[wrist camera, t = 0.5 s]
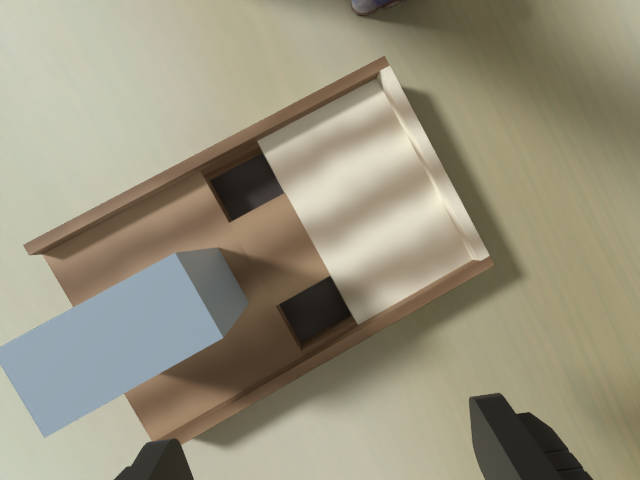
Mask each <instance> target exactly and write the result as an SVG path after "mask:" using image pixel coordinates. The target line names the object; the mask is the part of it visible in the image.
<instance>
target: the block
mask: <svg viewBox="0 0 640 480" xmlns="http://www.w3.org/2000/svg"><path fill="white" fill-rule="evenodd" d="M248 304H249V301H248V300H247V298H246V296H245V294H244V293H243V291H242V289H241V287H240V285H239V284H238V282H237V280H236V278H235V277H234V275H233V273H232V271H231V269H230V268H229V266H228V264H227V262H226V261H225V259H224V257H223V255H222V253H221V252H220V250H219V248H218V247H216V248H208V249H200V250H192V251H184V252H176V253H173V254H172V255H170V256H168V257H166V258H164V259H162V260H160V261H159V262H157V263H155V264H153V265H151V266H149V267H147V268H146V269H144V270H142V271H140V272H138V273H136V274H134V275H133V276H131V277H129V278H127V279H125V280H123V281H122V282H120V283H118V284H116V285H114V286H112V287H110V288H109V289H107V290H105V291H103V292H101V293H99V294H97V295H96V296H94V297H92V298H90V299H88V300H86V301H84V302H83V303H81V304H79V305H77V306H75V307H73V308H71V309H70V310H68V311H66V312H64V313H62V314H60V315H58V316H57V317H55V318H53V319H51V320H49V321H47V322H45V323H44V324H42V325H40V326H38V327H36V328H34V329H32V330H31V331H29V332H27V333H25V334H23V335H21V336H19V337H18V338H16V339H14V340H12V341H10V342H8V343H7V344H5V345H3V346H1V347H0V365H1V366H2V368H3V370H4V371H5V373H6V375H7V376H8V378H9V380H10V381H11V383H12V385H13V386H14V388H15V390H16V391H17V393H18V395H19V396H20V398H21V400H22V401H23V403H24V405H25V406H26V408H27V410H28V411H29V413H30V415H31V416H32V418H33V420H34V421H35V423H36V425H37V426H38V428H39V430H40V431H41V433H42V435H43V436H44V438H45V437H47V436H49V435H51V434H52V433H54V432H56V431H58V430H60V429H61V428H63V427H65V426H67V425H68V424H70V423H72V422H74V421H76V420H77V419H79V418H81V417H83V416H85V415H86V414H88V413H90V412H92V411H93V410H95V409H97V408H99V407H101V406H102V405H104V404H106V403H108V402H110V401H111V400H113V399H115V398H117V397H119V396H120V395H122V394H124V393H126V392H127V391H129V390H131V389H133V388H135V387H136V386H138V385H140V384H142V383H144V382H145V381H147V380H149V379H151V378H152V377H154V376H156V375H158V374H160V373H161V372H163V371H165V370H167V369H169V368H170V367H172V366H174V365H176V364H178V363H179V362H181V361H183V360H185V359H186V358H188V357H190V356H192V355H194V354H195V353H197V352H199V351H201V350H203V349H204V348H206V347H208V346H210V345H212V344H213V343H215V342H217V341H219V340H220V339H222V338H224V336H225V335H226V334H227V332H228V331H229V330H230V328H231V327H232V326H233V324H234V323H235V321H236V320H237V319H238V317H239V316H240V315H241V313H242V312H243V311H244V309H245V308H246V307H247V305H248Z"/></svg>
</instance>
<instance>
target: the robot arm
mask: <svg viewBox="0 0 640 480" xmlns="http://www.w3.org/2000/svg"><path fill="white" fill-rule="evenodd" d="M469 408H470V419H471V431H472V442H473V448H474V452H475V455H476V459H477V462H478V464H479V467H480V469H481V472H482V474H483V476H484V478H485V480H593V479H592V478H591V477H590V475H589V474H588V473H587V472H585V471H584V470H583V467H582V465H581V464H580V463H579V462H578V460H577V459H576V458H575V457H574V455H573V454H572V453H570V452H569V450H568V448H567V447H566V445H565V444H564V443H563V442H562V440H561V439H560V438H559V437H558V435H557V434H556V433H555V432H554V430H553V429H552V428H551V427H549V426H548V425H547V424H545V423H544V422H542V421H541V420H540V419H538V418H537V417H535V416H534V415H533V414H531V413H530V412H527V413H520V414H516V413H515V412H514V410H513V409H512V407H511V406H510V405H509V403H508V402H507V400H506V399H505V398H504V396H503V395H502V394H500V393H495V394H488V395H481V396H474V397H470V398H469ZM114 480H194V479H193V476H192V473H191V470H190V468H189V465H188V463H187V460H186V457H185V455H184V452H183V449H182V447H181V444H180V442H179V440H178V439H176V438H173V439H166V440H159V441H152V442H148V443H146V444H145V445H144V446H143V448H142V449H141V451H140V452H139V454H138V456H137V457H136V459H135V461H134V462H133V464H132V465H131V466H129V467H126V468H125V469H124V470H123V471H122V472H121V473H120V474H119V475H118V476H117V477H116V478H115V479H114Z"/></svg>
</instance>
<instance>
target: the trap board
mask: <svg viewBox="0 0 640 480" xmlns="http://www.w3.org/2000/svg"><path fill="white" fill-rule="evenodd" d="M23 246H24V247H25V249H26V251H27V252H28V254H29V255H39V254H42V255H43V256H44V258H45V260H46V261H47V263H48V265H49V266H50V268H51V270H52V272H53V273H54V275H55V277H56V278H57V280H58V282H59V283H60V285H61V287H62V289H63V290H64V292H65V294H66V295H67V297H68V299H69V301H70V302H71V304H72V306H73V307H75V306H77V305H79V304H81V303H83V302H84V301H86V300H88V299H90V298H92V297H94V296H96V295H97V294H99V293H101V292H103V291H105V290H107V289H109V288H110V287H112V286H114V285H116V284H118V283H120V282H122V281H123V280H125V279H127V278H129V277H131V276H133V275H134V274H136V273H138V272H140V271H142V270H144V269H146V268H147V267H149V266H151V265H153V264H155V263H157V262H159V261H160V260H162V259H164V258H166V257H168V256H170V255H172V254H173V253H176V252H184V251H192V250H200V249H208V248H216V247H218V248H219V250H220V252H221V253H222V255H223V257H224V259H225V261H226V262H227V264H228V266H229V268H230V269H231V271H232V273H233V275H234V277H235V278H236V280H237V282H238V284H239V285H240V287H241V289H242V291H243V293H244V294H245V296H246V298H247V300H248V301H249V304H248V305H247V307H246V308H245V309H244V311H243V312H242V313H241V315H240V316H239V317H238V319H237V320H236V321H235V323H234V324H233V326H232V327H231V328H230V330H229V331H228V332H227V334H226V335H225V336H224V338H222V339H220V340H219V341H217V342H215V343H213V344H212V345H210V346H208V347H206V348H204V349H203V350H201V351H199V352H197V353H195V354H194V355H192V356H190V357H188V358H186V359H185V360H183V361H181V362H179V363H178V364H176V365H174V366H172V367H170V368H169V369H167V370H165V371H163V372H161V373H160V374H158V375H156V376H154V377H152V378H151V379H149V380H147V381H145V382H144V383H142V384H140V385H138V386H136V387H135V388H133V389H131V390H129V391H127V392H126V393H124V394H125V396H126V398H127V399H128V401H129V403H130V404H131V406H132V408H133V410H134V411H135V413H136V415H137V416H138V418H139V420H140V422H141V423H142V425H143V427H144V428H145V430H146V432H147V433H148V435H149V437H150V439H151V440H152V441H159V440H166V439H173V438H176V439H178V440H179V442H180V444H181V445H182V444H184V443H185V442H187V441H189V440H191V439H192V438H194V437H196V436H198V435H199V434H201V433H203V432H205V431H206V430H208V429H210V428H212V427H213V426H215V425H217V424H219V423H220V422H222V421H224V420H225V419H227V418H229V417H231V416H232V415H234V414H236V413H238V412H239V411H241V410H243V409H245V408H246V407H248V406H250V405H252V404H253V403H255V402H257V401H259V400H260V399H262V398H264V397H266V396H267V395H269V394H271V393H272V392H274V391H276V390H278V389H279V388H281V387H283V386H285V385H286V384H288V383H290V382H292V381H293V380H295V379H297V378H299V377H300V376H302V375H304V374H306V373H307V372H309V371H311V370H313V369H314V368H316V367H318V366H320V365H321V364H323V363H325V362H326V361H328V360H330V359H332V358H333V357H335V356H337V355H339V354H340V353H342V352H344V351H346V350H347V349H349V348H351V347H353V346H354V345H356V344H358V343H360V342H361V341H363V340H365V339H367V338H368V337H370V336H372V335H373V334H375V333H377V332H379V331H380V330H382V329H384V328H386V327H387V326H389V325H391V324H393V323H394V322H396V321H398V320H400V319H401V318H403V317H405V316H407V315H408V314H410V313H412V312H414V311H415V310H417V309H419V308H421V307H422V306H424V305H426V304H427V303H429V302H431V301H433V300H434V299H436V298H438V297H440V296H441V295H443V294H445V293H447V292H448V291H450V290H452V289H454V288H455V287H457V286H459V285H461V284H462V283H464V282H466V281H468V280H469V279H471V278H473V277H474V276H476V275H478V274H480V273H481V272H483V271H485V270H487V269H488V268H490V267H492V266H494V263H493V261H492V259H491V257H490V255H489V253H488V251H487V249H486V247H485V246H484V244H483V242H482V240H481V238H480V236H479V234H478V232H477V230H476V229H475V227H474V225H473V223H472V221H471V219H470V217H469V215H468V213H467V211H466V210H465V208H464V206H463V204H462V202H461V200H460V198H459V196H458V194H457V192H456V191H455V189H454V187H453V185H452V183H451V181H450V179H449V177H448V175H447V173H446V172H445V170H444V168H443V166H442V164H441V162H440V160H439V158H438V156H437V154H436V153H435V151H434V149H433V147H432V145H431V143H430V141H429V139H428V137H427V135H426V134H425V132H424V130H423V128H422V126H421V124H420V122H419V120H418V118H417V116H416V115H415V113H414V111H413V109H412V107H411V105H410V103H409V101H408V99H407V97H406V96H405V94H404V92H403V90H402V88H401V86H400V84H399V82H398V80H397V79H396V77H395V75H394V73H393V71H392V69H391V67H390V65H389V63H388V61H387V60H386V58H385V56H383V57H381V58H379V59H378V60H376V61H374V62H372V63H370V64H368V65H366V66H364V67H362V68H360V69H358V70H357V71H355V72H353V73H351V74H349V75H347V76H345V77H343V78H341V79H339V80H337V81H335V82H334V83H332V84H330V85H328V86H326V87H324V88H322V89H320V90H318V91H316V92H314V93H313V94H311V95H309V96H307V97H305V98H303V99H301V100H299V101H297V102H295V103H293V104H292V105H290V106H288V107H286V108H284V109H282V110H280V111H278V112H276V113H274V114H272V115H271V116H269V117H267V118H265V119H263V120H261V121H259V122H257V123H255V124H253V125H251V126H250V127H248V128H246V129H244V130H242V131H240V132H238V133H236V134H234V135H232V136H230V137H228V138H227V139H225V140H223V141H221V142H219V143H217V144H215V145H213V146H211V147H209V148H207V149H206V150H204V151H202V152H200V153H198V154H196V155H194V156H192V157H190V158H188V159H186V160H185V161H183V162H181V163H179V164H177V165H175V166H173V167H171V168H169V169H167V170H165V171H164V172H162V173H160V174H158V175H156V176H154V177H152V178H150V179H148V180H146V181H144V182H143V183H141V184H139V185H137V186H135V187H133V188H131V189H129V190H127V191H125V192H123V193H121V194H120V195H118V196H116V197H114V198H112V199H110V200H108V201H106V202H104V203H102V204H100V205H99V206H97V207H95V208H93V209H91V210H89V211H87V212H85V213H83V214H81V215H79V216H78V217H76V218H74V219H72V220H70V221H68V222H66V223H64V224H62V225H60V226H58V227H57V228H55V229H53V230H51V231H49V232H47V233H45V234H43V235H41V236H39V237H37V238H36V239H34V240H32V241H30V242H28V243H26V244H24V245H23Z"/></svg>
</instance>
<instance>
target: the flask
mask: <svg viewBox="0 0 640 480" xmlns="http://www.w3.org/2000/svg"><path fill="white" fill-rule="evenodd" d="M399 1H401V0H351V4H352V9H353V10H354V12H355V14H356V15H369V14H373V13H374V11H376V10H379V9H383V8H385V9H386V8H388V7H390V8H391V7H392V6H395V4H396V3H398V2H399ZM403 1H406V0H403Z"/></svg>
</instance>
